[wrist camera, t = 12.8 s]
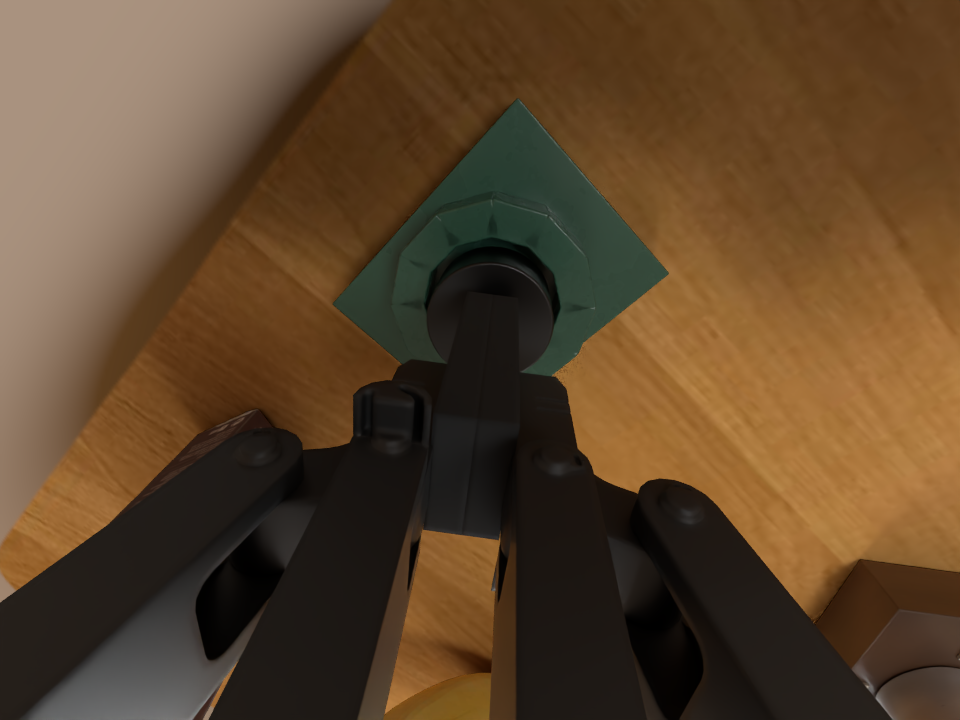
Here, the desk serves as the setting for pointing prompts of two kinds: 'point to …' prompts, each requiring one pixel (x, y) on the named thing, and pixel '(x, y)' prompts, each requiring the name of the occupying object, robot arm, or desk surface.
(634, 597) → the robot arm
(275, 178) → the desk surface
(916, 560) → the desk surface
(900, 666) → the dial panel
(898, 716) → the dial
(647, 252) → the button box
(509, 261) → the button
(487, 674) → the banana
